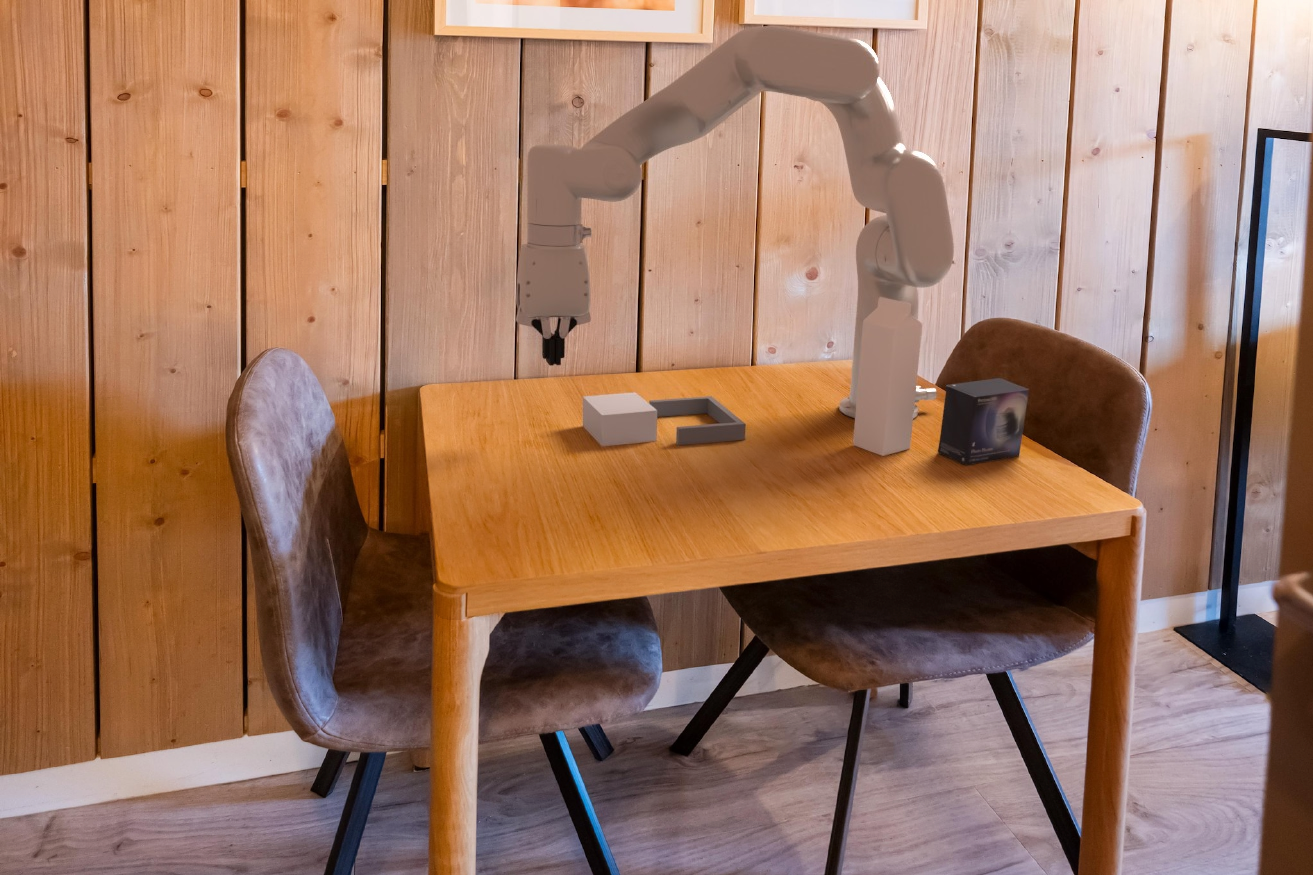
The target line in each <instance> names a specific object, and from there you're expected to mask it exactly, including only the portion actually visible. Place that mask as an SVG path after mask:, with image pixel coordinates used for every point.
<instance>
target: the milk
mask: <svg viewBox="0 0 1313 875" xmlns="http://www.w3.org/2000/svg"><path fill="white" fill-rule="evenodd" d="M910 311H911V304H910V303H906V302H902V301H897V300H892V299H888V298H883V297H879V299H878V307H877V308H876V309H875V310H874V311H873V312H872V313H871V314H870V315H869V316H868V317H867V318H866V319H864V320H863V328H862V341H861V353H860V365H859V377H858V389H857V402H856V414H855V418H854V425H853V426H854V427H853V428H854V429H853V439H852V440H853V442H852V446H855V447H857V448H859V449H863V450H866V451H868V452H870V453H874V454H876V455H880V456H881V457H884V456H885V457H886V456H889V455H891V454H895V453H900V452H904V451H906V450H910V449H911V445H912V444H911V442H912V433H913V424H914V422H913V421H914V418H913V414H914V404H915V405H916V403H915V394H916V386H917V383H918V373H919V364H920V363H919V362H920V352H921V344H922V342H921V341H922V334H923V322H921V321H920V320H918V318H917V319H916V318H914V317H913V316H912V315H911V314H910Z"/></svg>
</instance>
